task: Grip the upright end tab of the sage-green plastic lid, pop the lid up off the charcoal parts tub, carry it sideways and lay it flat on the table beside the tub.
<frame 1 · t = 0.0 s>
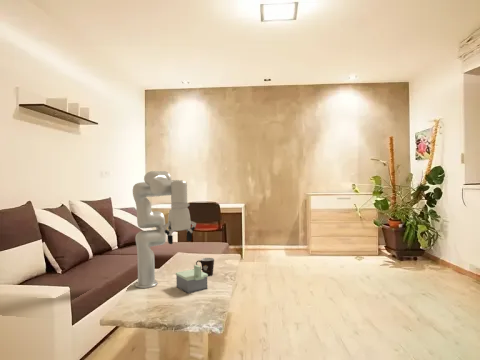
hand: (179, 242, 156), 31 cm above the table, tool pointing down, fingers open, 9 cm apart
tub: (191, 288, 185), on the table
coffee mug: (206, 274, 211), on the table
lid: (191, 277, 185), point 6 cm above the table, touching tub
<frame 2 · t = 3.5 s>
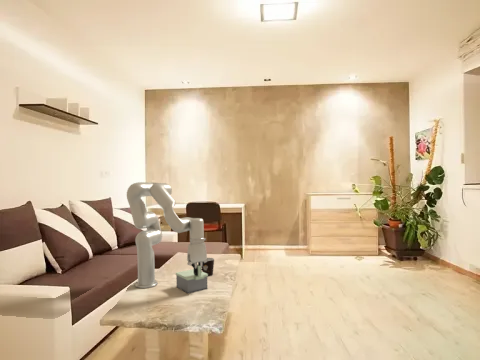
hand: (197, 274, 179), 9 cm above the table, tool pointing down, fingers closed on lid
lid: (191, 277, 185), point 6 cm above the table, touching gripper, tub
everything else where it was.
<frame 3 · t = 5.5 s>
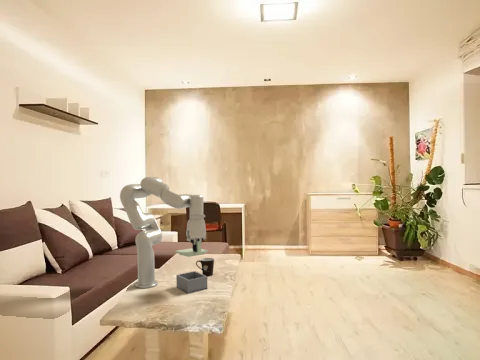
hand: (196, 250, 180), 22 cm above the table, tool pointing down, fingers closed on lid
lid: (191, 254, 184), point 19 cm above the table, touching gripper
everything else where it was.
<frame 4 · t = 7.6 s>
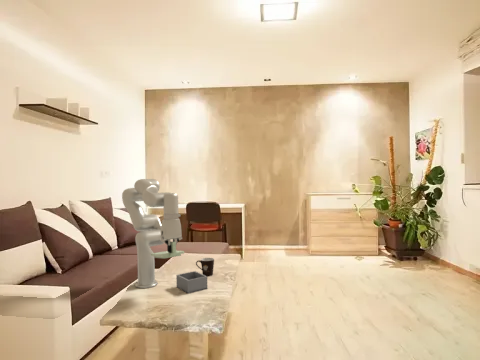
hand: (171, 252, 170), 23 cm above the table, tool pointing down, fingers closed on lid
lid: (167, 256, 175), point 20 cm above the table, tilted 7°, touching gripper
everything else where it was.
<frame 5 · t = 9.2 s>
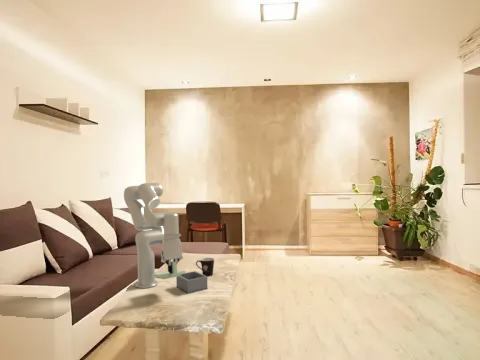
hand: (172, 272, 170), 13 cm above the table, tool pointing down, fingers closed on lid
lid: (168, 276, 174), point 10 cm above the table, tilted 10°, touching gripper
everything else where it was.
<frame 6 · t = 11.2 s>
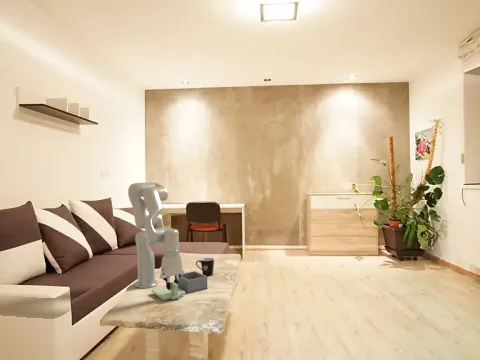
hand: (172, 288, 171), 5 cm above the table, tool pointing down, fingers open, 3 cm apart
lid: (168, 295, 174), on the table
everything else where it was.
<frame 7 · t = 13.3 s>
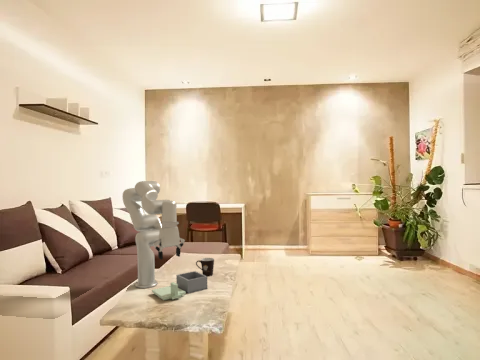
hand: (169, 257, 171), 21 cm above the table, tool pointing down, fingers open, 9 cm apart
nothing on the table moved.
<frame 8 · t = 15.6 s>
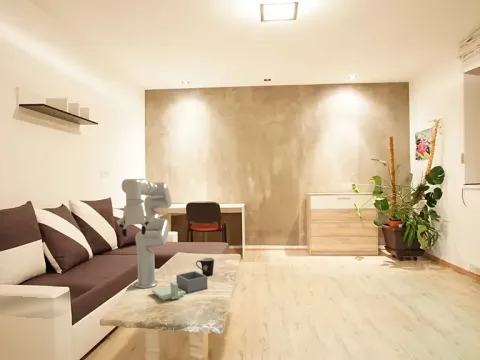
hand: (134, 235, 172), 32 cm above the table, tool pointing down, fingers open, 9 cm apart
nothing on the table moved.
at the end: lid inside the target area (2.3 cm from its centre), on the table; lid tilted 0°; lid touching table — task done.
